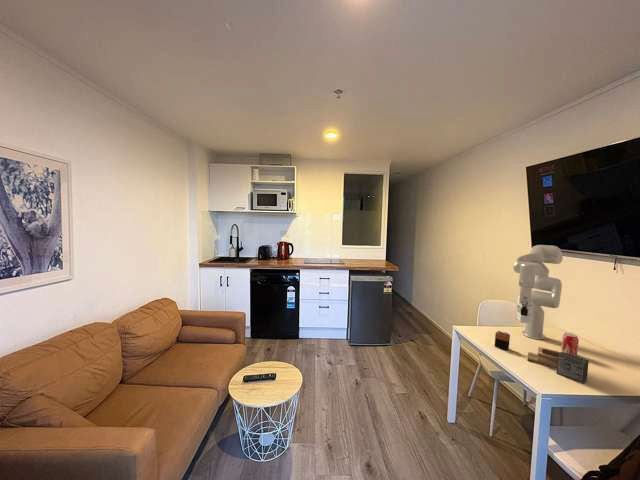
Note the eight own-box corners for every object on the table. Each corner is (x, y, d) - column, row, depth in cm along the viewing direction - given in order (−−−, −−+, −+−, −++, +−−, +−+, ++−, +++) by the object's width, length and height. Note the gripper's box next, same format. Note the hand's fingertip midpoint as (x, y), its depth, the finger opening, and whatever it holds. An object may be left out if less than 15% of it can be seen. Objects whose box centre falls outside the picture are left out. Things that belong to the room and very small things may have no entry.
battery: (507, 350, 163) (508, 334, 163) (494, 346, 168) (495, 331, 168) (509, 348, 166) (510, 332, 166) (496, 344, 171) (497, 329, 171)
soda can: (560, 350, 166) (562, 331, 165) (575, 353, 162) (577, 334, 161) (562, 354, 160) (563, 335, 159) (578, 358, 156) (580, 338, 155)
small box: (587, 380, 134) (589, 359, 133) (583, 384, 131) (585, 363, 130) (560, 370, 143) (562, 350, 142) (555, 373, 139) (557, 354, 139)
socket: (528, 353, 160) (528, 344, 160) (574, 365, 148) (574, 355, 147) (527, 360, 152) (528, 351, 151) (576, 374, 139) (577, 363, 139)
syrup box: (531, 323, 158) (533, 299, 157) (520, 322, 159) (522, 298, 158) (526, 320, 164) (528, 296, 162) (515, 319, 165) (517, 296, 164)
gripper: (519, 281, 169) (517, 308, 170) (517, 285, 155) (515, 315, 157) (535, 283, 164) (532, 311, 165) (534, 288, 151) (531, 319, 152)
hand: (524, 313), depth 161 cm, fingers closed on syrup box, 7 cm apart
